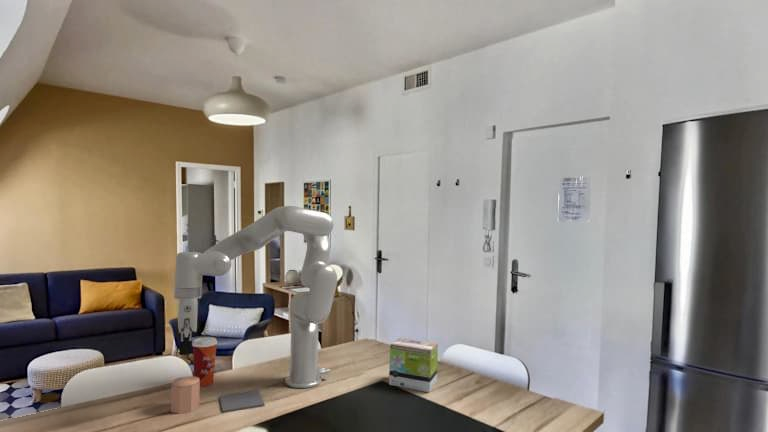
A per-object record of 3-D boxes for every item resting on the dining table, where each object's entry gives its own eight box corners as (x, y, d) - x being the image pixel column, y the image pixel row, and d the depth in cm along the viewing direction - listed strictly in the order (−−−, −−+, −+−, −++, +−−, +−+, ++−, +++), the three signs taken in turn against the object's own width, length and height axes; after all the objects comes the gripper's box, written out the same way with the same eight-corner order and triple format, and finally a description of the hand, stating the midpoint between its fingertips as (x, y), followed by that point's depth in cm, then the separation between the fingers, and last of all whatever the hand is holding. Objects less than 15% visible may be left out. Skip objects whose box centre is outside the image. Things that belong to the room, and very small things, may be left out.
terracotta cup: (198, 400, 132) (199, 374, 132) (199, 410, 125) (200, 383, 125) (171, 404, 129) (172, 378, 129) (170, 415, 122) (171, 387, 122)
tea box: (388, 386, 148) (389, 343, 148) (398, 376, 157) (399, 336, 157) (430, 393, 142) (430, 349, 142) (437, 383, 151) (438, 341, 152)
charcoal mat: (258, 391, 140) (258, 389, 140) (264, 406, 129) (264, 404, 129) (219, 397, 135) (219, 395, 135) (222, 412, 124) (222, 410, 124)
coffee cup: (207, 388, 142) (208, 343, 142) (185, 386, 144) (186, 341, 144) (221, 379, 150) (222, 337, 150) (200, 377, 152) (202, 335, 152)
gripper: (202, 297, 122) (199, 357, 121) (200, 288, 137) (198, 341, 137) (173, 298, 118) (170, 359, 118) (174, 289, 134) (172, 343, 133)
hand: (185, 350), depth 127 cm, fingers open, 9 cm apart
